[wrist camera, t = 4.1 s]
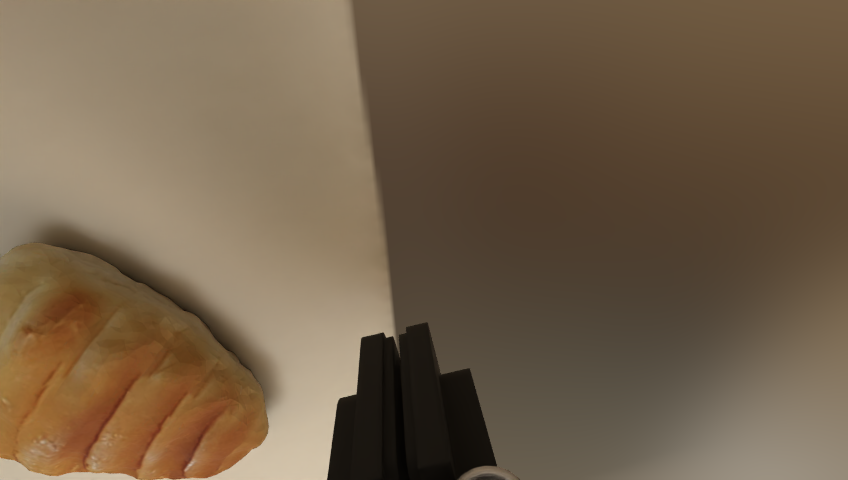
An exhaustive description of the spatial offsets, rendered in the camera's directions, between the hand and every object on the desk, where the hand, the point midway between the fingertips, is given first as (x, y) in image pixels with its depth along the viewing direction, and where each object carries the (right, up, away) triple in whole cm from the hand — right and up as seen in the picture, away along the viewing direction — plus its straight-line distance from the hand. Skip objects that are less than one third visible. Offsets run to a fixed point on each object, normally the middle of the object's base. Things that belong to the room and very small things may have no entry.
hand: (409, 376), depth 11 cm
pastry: (-10, 0, +4) cm, 11 cm away
